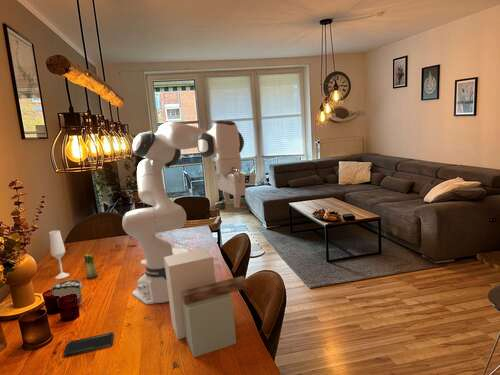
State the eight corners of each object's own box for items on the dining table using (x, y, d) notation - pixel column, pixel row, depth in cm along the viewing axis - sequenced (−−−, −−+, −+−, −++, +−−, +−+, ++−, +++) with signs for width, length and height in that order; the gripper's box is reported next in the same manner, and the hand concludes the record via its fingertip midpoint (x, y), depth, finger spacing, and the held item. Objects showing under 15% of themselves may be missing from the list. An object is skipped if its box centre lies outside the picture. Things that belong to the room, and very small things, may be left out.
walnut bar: (243, 284, 118) (242, 275, 118) (247, 288, 115) (246, 279, 115) (182, 300, 110) (181, 291, 110) (184, 305, 107) (183, 295, 107)
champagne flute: (64, 272, 186) (57, 229, 182) (72, 274, 182) (64, 230, 178) (52, 277, 180) (44, 232, 176) (59, 279, 177) (51, 234, 173)
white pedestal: (211, 313, 132) (205, 248, 128) (220, 326, 123) (213, 256, 118) (172, 325, 126) (163, 257, 122) (177, 339, 117) (168, 266, 113)
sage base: (226, 328, 121) (221, 285, 119) (236, 343, 112) (232, 297, 110) (186, 340, 116) (181, 295, 114) (193, 357, 107) (188, 309, 104)
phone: (67, 342, 119) (113, 331, 124) (68, 345, 120) (114, 334, 124) (62, 355, 112) (112, 344, 116) (63, 358, 112) (112, 347, 116)
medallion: (194, 260, 189) (194, 256, 189) (143, 271, 180) (142, 267, 179) (186, 248, 211) (185, 244, 211) (139, 257, 201) (139, 253, 201)
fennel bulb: (86, 277, 177) (82, 254, 175) (96, 274, 180) (92, 252, 178) (88, 280, 173) (84, 257, 171) (98, 277, 176) (95, 254, 174)
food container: (90, 299, 152) (86, 277, 150) (83, 306, 146) (80, 284, 144) (61, 301, 152) (57, 280, 150) (54, 309, 146) (50, 286, 144)
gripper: (248, 167, 115) (251, 208, 117) (228, 164, 134) (231, 199, 136) (230, 169, 112) (234, 211, 115) (212, 166, 131) (215, 202, 133)
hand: (232, 205), depth 125 cm, fingers open, 8 cm apart
